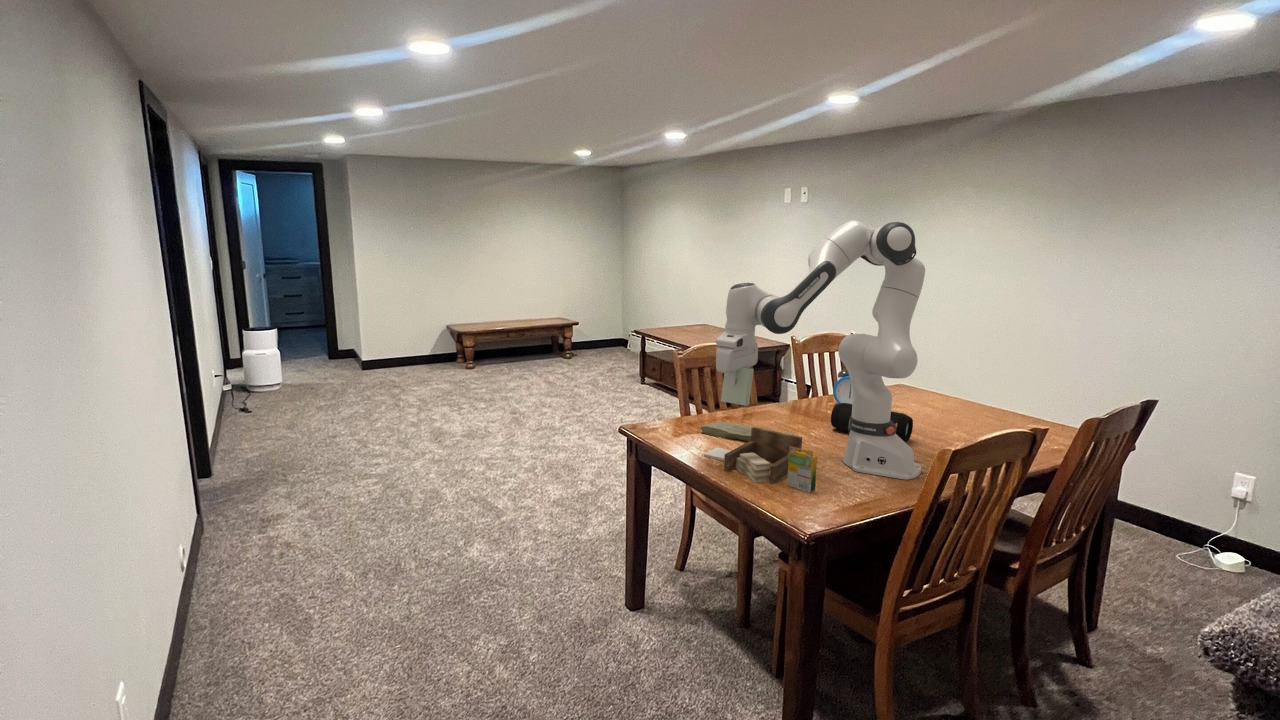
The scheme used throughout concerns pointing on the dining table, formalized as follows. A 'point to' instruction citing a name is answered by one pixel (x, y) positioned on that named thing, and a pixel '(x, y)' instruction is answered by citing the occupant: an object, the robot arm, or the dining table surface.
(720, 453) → the grey plate
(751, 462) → the offcut stack
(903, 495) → the dining table surface
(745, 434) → the stone slab
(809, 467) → the crayon box
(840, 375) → the alarm clock
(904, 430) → the portable speaker
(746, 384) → the pale green block
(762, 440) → the walnut corral
